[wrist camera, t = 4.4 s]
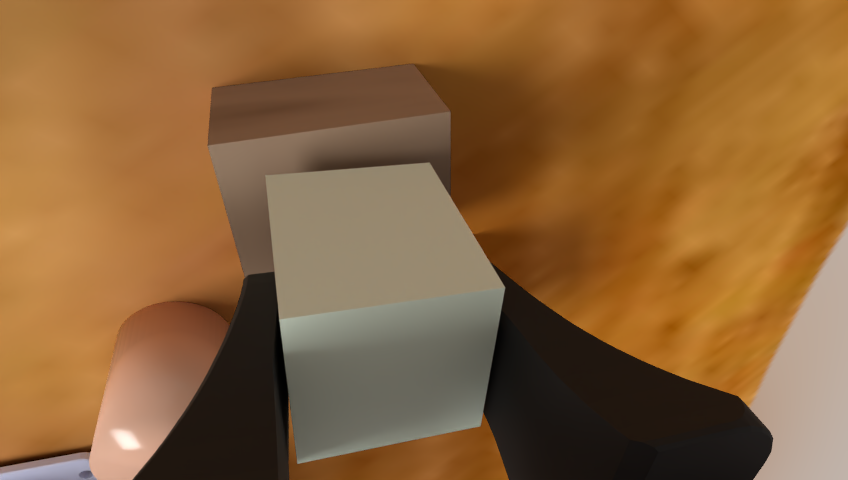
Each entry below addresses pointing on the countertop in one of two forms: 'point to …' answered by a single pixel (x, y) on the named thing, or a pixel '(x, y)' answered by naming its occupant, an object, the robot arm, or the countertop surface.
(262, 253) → the walnut block
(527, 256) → the countertop surface
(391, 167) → the sage block
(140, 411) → the terracotta cylinder
